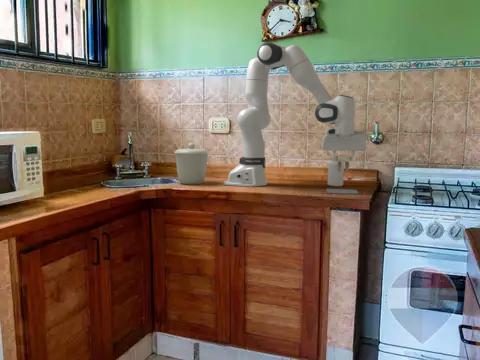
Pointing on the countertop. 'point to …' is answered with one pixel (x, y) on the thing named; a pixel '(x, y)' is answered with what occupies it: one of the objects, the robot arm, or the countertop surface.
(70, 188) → the countertop surface
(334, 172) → the pill bottle
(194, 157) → the canister
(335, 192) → the mat
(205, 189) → the countertop surface
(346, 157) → the stool
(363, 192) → the countertop surface
